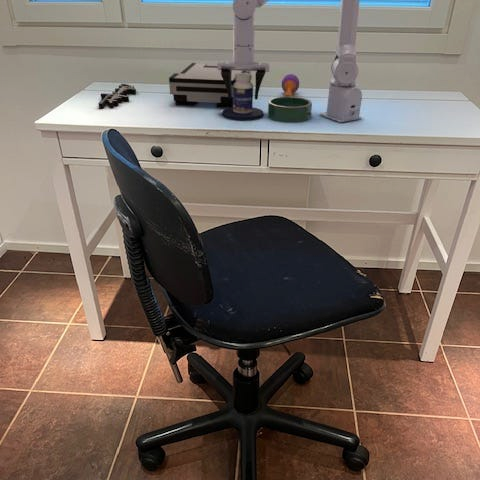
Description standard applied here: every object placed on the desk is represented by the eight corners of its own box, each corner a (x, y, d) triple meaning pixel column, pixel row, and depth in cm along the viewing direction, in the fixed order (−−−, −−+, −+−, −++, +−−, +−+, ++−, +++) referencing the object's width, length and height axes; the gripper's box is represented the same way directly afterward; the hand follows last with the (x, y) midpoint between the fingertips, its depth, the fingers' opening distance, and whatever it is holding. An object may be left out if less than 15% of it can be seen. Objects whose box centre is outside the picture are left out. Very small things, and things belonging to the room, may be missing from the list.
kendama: (276, 92, 150) (281, 73, 164) (279, 111, 153) (283, 91, 168) (295, 89, 148) (298, 70, 163) (297, 109, 152) (300, 89, 167)
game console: (250, 86, 173) (250, 61, 168) (237, 110, 148) (237, 80, 143) (193, 84, 175) (192, 59, 170) (170, 107, 150) (168, 77, 145)
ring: (318, 118, 141) (320, 103, 139) (283, 124, 136) (284, 109, 133) (293, 108, 149) (294, 94, 147) (259, 114, 144) (260, 99, 142)
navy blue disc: (272, 117, 142) (272, 113, 141) (235, 123, 137) (235, 119, 136) (249, 107, 150) (249, 104, 150) (214, 112, 145) (214, 109, 145)
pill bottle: (235, 114, 140) (235, 76, 134) (230, 109, 144) (230, 72, 138) (254, 113, 141) (255, 75, 135) (249, 108, 146) (250, 71, 140)
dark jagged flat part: (111, 83, 168) (139, 83, 168) (111, 88, 169) (140, 88, 169) (90, 103, 146) (123, 103, 146) (91, 108, 147) (124, 109, 147)
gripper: (271, 43, 135) (269, 95, 143) (219, 42, 136) (220, 94, 144) (269, 47, 129) (267, 101, 138) (215, 45, 131) (216, 99, 139)
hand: (243, 98), depth 141 cm, fingers open, 7 cm apart
